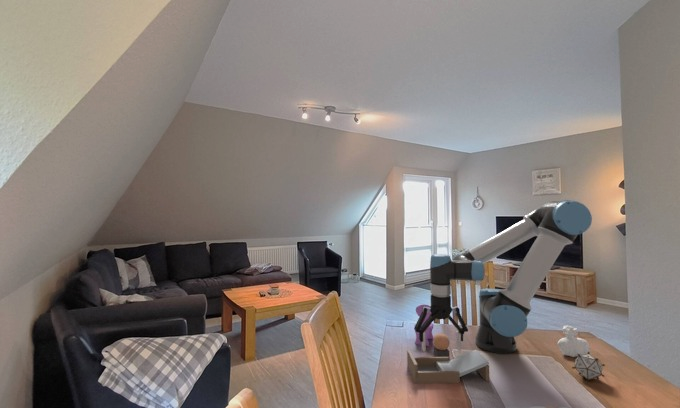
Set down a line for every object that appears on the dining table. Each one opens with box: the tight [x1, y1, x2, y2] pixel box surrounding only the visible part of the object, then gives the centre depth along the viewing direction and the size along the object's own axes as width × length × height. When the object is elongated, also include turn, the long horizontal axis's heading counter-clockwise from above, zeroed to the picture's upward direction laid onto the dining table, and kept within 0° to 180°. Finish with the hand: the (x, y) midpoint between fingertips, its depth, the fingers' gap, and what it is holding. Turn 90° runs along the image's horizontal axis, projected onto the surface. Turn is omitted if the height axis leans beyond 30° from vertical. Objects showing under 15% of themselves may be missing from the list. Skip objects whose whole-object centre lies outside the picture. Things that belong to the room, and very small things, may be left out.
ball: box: [432, 333, 450, 351], centre depth 123 cm, size 6×6×6 cm
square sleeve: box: [433, 346, 450, 358], centre depth 123 cm, size 5×5×2 cm
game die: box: [571, 352, 606, 383], centre depth 105 cm, size 9×8×10 cm
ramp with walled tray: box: [406, 349, 491, 384], centre depth 109 cm, size 25×11×6 cm, turn 90°
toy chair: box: [414, 304, 435, 347], centre depth 136 cm, size 8×9×15 cm
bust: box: [556, 325, 591, 358], centre depth 124 cm, size 12×8×11 cm
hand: (441, 349), depth 123 cm, fingers open, 13 cm apart
